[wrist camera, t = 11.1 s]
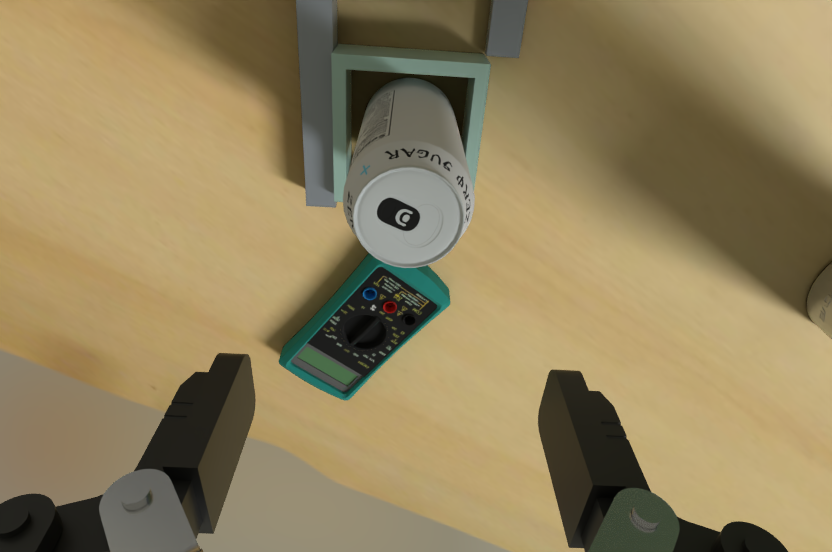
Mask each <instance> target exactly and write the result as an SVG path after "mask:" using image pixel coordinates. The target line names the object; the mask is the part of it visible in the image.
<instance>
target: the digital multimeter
mask: <svg viewBox="0 0 832 552" xmlns="http://www.w3.org/2000/svg"><path fill="white" fill-rule="evenodd" d="M374 270H375V271H374ZM361 284H362V285H361ZM360 285H361V286H360ZM359 286H360V287H359ZM347 299H348V300H347ZM346 300H347V301H346ZM449 305H450V296H449V289H448V287H447V286H446V285H445V284H444V283H443V281H442V280H441V279H440V278H439V277H438V275H437V274H436V273H435V272H433V271H432V270H431V269H430V268H429V267H428V266H427V265H426V266H422V267H416V268H402V267H396V266H392V265H389V264H386V263H384V262H382V261H380V260H378V259H376V258H375V257H374V256H372V255H371V254H370V253H369V254H368V255H367V256H366V257H365V259H364V260H363V261H362V262H361V264H360V265H359V266H358V267H357V269H356V270H355V271H354V272H353V273H352V274H351V276H350V277H349V278H348V279H347V280H346V281H345V283H344V284H343V285H342V286H341V287H340V288H339V290H338V291H337V292H336V293H335V294H334V295H333V297H332V298H331V299H330V300H329V301H328V302H327V303H326V304H325V305H324V306H323V307H322V308H321V309H320V310H319V311H318V313H317V314H316V315H315V316H314V317H313V318H312V319H311V320H310V321H309V322H308V323H307V324H306V325H305V326H304V327H303V328H302V329H301V330H300V331H299V332H298V333H297V334H296V335H295V336H294V337H293V338H292V339H291V340H290V341H289V342H288V343H287V344H286V345H285V346H284V347H283V349H282V353H281V356H280V359H279V364H280V365H281V366H283V367H284V368H286V369H287V370H289V371H290V372H292V373H293V374H295V375H296V376H298V377H299V378H301V379H302V380H304V381H306V382H307V383H309V384H311V385H313V386H314V387H316V388H318V389H320V390H322V391H324V392H326V393H328V394H331V395H333V396H335V397H337V398H340V399H342V400H349V399H350V398H351V397H352V396H353V395H354V394H355V393H356V392H357V391H358V390H359V389H360V388H361V387H362V386H363V385H364V384H365V383H366V381H367V380H368V379H369V378H370V377H371V376H372V375H373V374H374V373H375V372H376V371H377V370H378V369H379V368H380V367H381V366H382V365H383V364H384V363H385V362H386V361H387V360H388V359H389V358H390V357H391V356H392V355H393V354H394V353H395V352H396V351H398V350H399V349H400V348H401V347H402V346H403V345H404V344H405V343H406V342H407V341H409V340H410V339H411V338H412V337H413V336H414V335H415V334H417V333H418V332H419V331H420V330H421V329H422V328H423V327H424V326H426V325H427V324H428V323H429V322H430V321H431V320H433V319H434V318H435V317H436V316H437V315H439V314H440V313H441V312H442V311H443V310H445V309H446V308H447V307H448V306H449ZM333 314H334V315H333ZM320 328H321V329H320ZM387 328H388V329H387ZM319 329H320V330H319ZM343 340H344V341H343ZM361 350H362V351H361Z"/></svg>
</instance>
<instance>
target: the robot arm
mask: <svg viewBox="0 0 832 552" xmlns="http://www.w3.org/2000/svg"><path fill="white" fill-rule="evenodd" d="M807 312H808V314H809V317H810V319H811V320H812V321H813V322H814V323H815V324H816V325H817V326H818V327H819V328H820V329H821V330H822V331H823V332H824V333H825V334H826V335H827V336H828V337H830V338H831V339H832V263H831V264H830V265H829V266H828V267H827V268H826V269H825V270H824V271H823V272H822V273H821V274H820V275H819V276H818V278H817V279H816V281H815V282H814V284H813V285H812V287H811V290H810V292H809V294H808V299H807ZM254 411H255V390H254V383H253V376H252V368H251V361H250V357H249V355H248V354H230V353H219V354H218V355H217V356H216V358H215V360H214V362H213V364H212V366H211V368H210V370H209V372H195V373H194V374H193V375H192V376H191V377H190V378H188V379H187V380H186V381H185V382H184V383H183V384H182V385H180V387H179V389H178V391H177V393H176V394H175V396H174V398H173V400H172V404H171V405H170V406H169V408H168V409H167V411H166V413H165V415H164V419H162V421H161V422H160V424H159V426H158V428H157V430H156V432H155V434H154V436H153V437H152V439H151V441H150V443H149V445H148V447H147V449H146V451H145V453H144V455H143V456H142V458H141V460H140V462H139V464H138V466H137V467H136V469H135V470H134V472H131V473H129V474H127V475H125V476H123V477H121V478H120V479H118V480H117V481H115V482H114V483H113V484H112V485H111V486H110V487H109V488H108V489H107V490H106V492H105V493H104V494H103V495H100V496H98V497H95V498H91V499H87V500H82V501H78V502H74V503H70V504H66V505H62V506H57V507H55V505H54V504H53V502H52V500H51V499H50V498H49V497H47V496H45V495H41V494H26V495H21V496H18V497H14V498H12V499H9V500H7V501H5V502H3V503H2V504H0V552H203V550H202V549H200V548H199V546H198V543H197V541H196V538H197V535H198V533H212V534H213V533H214V531H215V528H216V524H217V522H218V519H219V516H220V513H221V510H222V507H223V504H224V501H225V498H226V496H227V493H228V490H229V487H230V484H231V481H232V478H233V475H234V472H235V470H236V466H237V464H238V461H239V458H240V455H241V452H242V449H243V446H244V443H245V440H246V438H247V435H248V432H249V429H250V426H251V423H252V420H253V416H254ZM538 426H539V433H540V437H541V441H542V445H543V449H544V453H545V457H546V460H547V464H548V468H549V472H550V476H551V480H552V484H553V488H554V491H555V495H556V499H557V503H558V507H559V511H560V515H561V519H562V522H563V526H564V530H565V534H566V538H567V542H568V546H569V548H584V549H585V552H788V551H787V549H786V548H785V547H784V546H783V544H782V543H781V542H780V541H779V540H778V539H777V538H775V537H774V536H773V535H772V534H770V533H769V532H767V531H766V530H764V529H762V528H760V527H758V526H756V525H754V524H750V523H747V522H731V523H729V524H727V525H726V526H724V528H723V529H722V531H721V532H718V531H715V530H712V529H709V528H706V527H703V526H700V525H697V524H694V523H690V522H688V521H685V520H683V519H681V518H679V517H677V516H676V514H675V513H674V511H673V510H672V508H671V507H670V506H669V505H668V504H667V503H666V502H665V501H664V500H663V499H662V498H660V497H659V496H657V495H656V494H654V493H652V492H651V491H650V489H649V486H648V484H647V482H646V480H645V477H644V475H643V473H642V470H641V468H640V466H639V464H638V461H637V459H636V457H635V454H634V452H633V450H632V447H631V445H630V443H629V441H628V440H627V439H626V434H625V431H624V429H623V427H622V426H621V422H620V420H619V418H618V415H617V413H616V411H615V408H614V406H613V405H612V404H611V403H610V402H609V401H608V400H607V399H606V398H605V397H604V396H603V394H602V393H601V392H600V391H589V390H588V388H587V385H586V383H585V380H584V378H583V375H582V373H581V372H580V371H570V370H551V371H550V372H549V375H548V378H547V382H546V386H545V390H544V393H543V397H542V401H541V405H540V408H539V415H538Z"/></svg>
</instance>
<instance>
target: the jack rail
mask: <svg viewBox="0 0 832 552" xmlns="http://www.w3.org/2000/svg"><path fill="white" fill-rule="evenodd" d="M527 4H528V0H491V6H490V14H489V22H488V30H487V38H486V46H485V54H486V56H497V57H511V58H519V54H520V48H521V41H522V35H523V29H524V23H525V16H526V10H527ZM296 10H297V30H298V50H299V70H300V89H301V109H302V129H303V149H304V169H305V189H306V206H319V207H336V205H337V202H343V193H344V186H345V183H346V179H347V175H348V172H349V168H350V165H351V161H352V70H363V71H378V72H393V73H408V74H422V75H437V76H452V77H467V78H468V85H467V93H466V102H465V111H464V120H463V129H462V137H461V141H462V145H463V149H464V153H465V157H466V161H467V165H468V169H469V173H470V177H471V180H472V184H473V190H474V187H475V179H476V172H477V164H478V157H479V149H480V142H481V134H482V127H483V119H484V112H485V105H486V97H487V90H488V82H489V75H490V67H491V64H490V62H489V61H488V59H487V58H486V56H485V55H484V54H480V53H466V52H451V51H437V50H423V49H408V48H394V47H380V46H365V45H351V44H338V20H337V0H296Z"/></svg>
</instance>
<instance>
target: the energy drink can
mask: <svg viewBox="0 0 832 552" xmlns="http://www.w3.org/2000/svg"><path fill="white" fill-rule="evenodd" d="M474 199H475V196H474V190H473V184H472V180H471V177H470V173H469V169H468V165H467V161H466V157H465V153H464V149H463V145H462V141H461V138H460V134H459V130H458V126H457V122H456V118H455V114H454V111H453V108H452V106H451V103H450V101H449V100H448V98H447V97H446V95H445V94H444V93H443V92H442V91H441V90H440V89H439V88H438V87H436V86H435V85H433V84H432V83H430V82H427V81H425V80H422V79H417V78H402V79H397V80H394V81H392V82H389V83H387V84H385V85H384V86H383V87H381V88H380V89H379V90H378V91H377V92H376V93H375V94H374V95H373V96H372V98H371V100H370V101H369V103H368V105H367V108H366V111H365V114H364V118H363V122H362V125H361V129H360V132H359V136H358V140H357V143H356V147H355V150H354V154H353V157H352V161H351V165H350V168H349V172H348V175H347V179H346V183H345V186H344V193H343V206H344V212H345V216H346V219H347V222H348V224H349V226H350V227H351V229H352V231H353V233H354V234H355V235H356V236H357V237H358V239H359V241H360V243H361V244H362V246H363V247H364V248H365V249H366V250H367V252H369V253H370V254H371V255H372V256H374V257H375V258H376V259H378V260H380V261H382V262H384V263H386V264H389V265H392V266H396V267H402V268H416V267H422V266H426V265H429V264H431V263H434V262H436V261H438V260H439V259H441V258H443V257H444V256H445V255H447V254H448V253H449V252H450V251H451V250H452V249H453V247H454V246H455V245H456V244H457V242H458V240H459V239H460V237H461V236H462V235H463V233H464V232H465V231H466V229H467V227H468V225H469V223H470V221H471V218H472V215H473V211H474Z"/></svg>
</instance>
